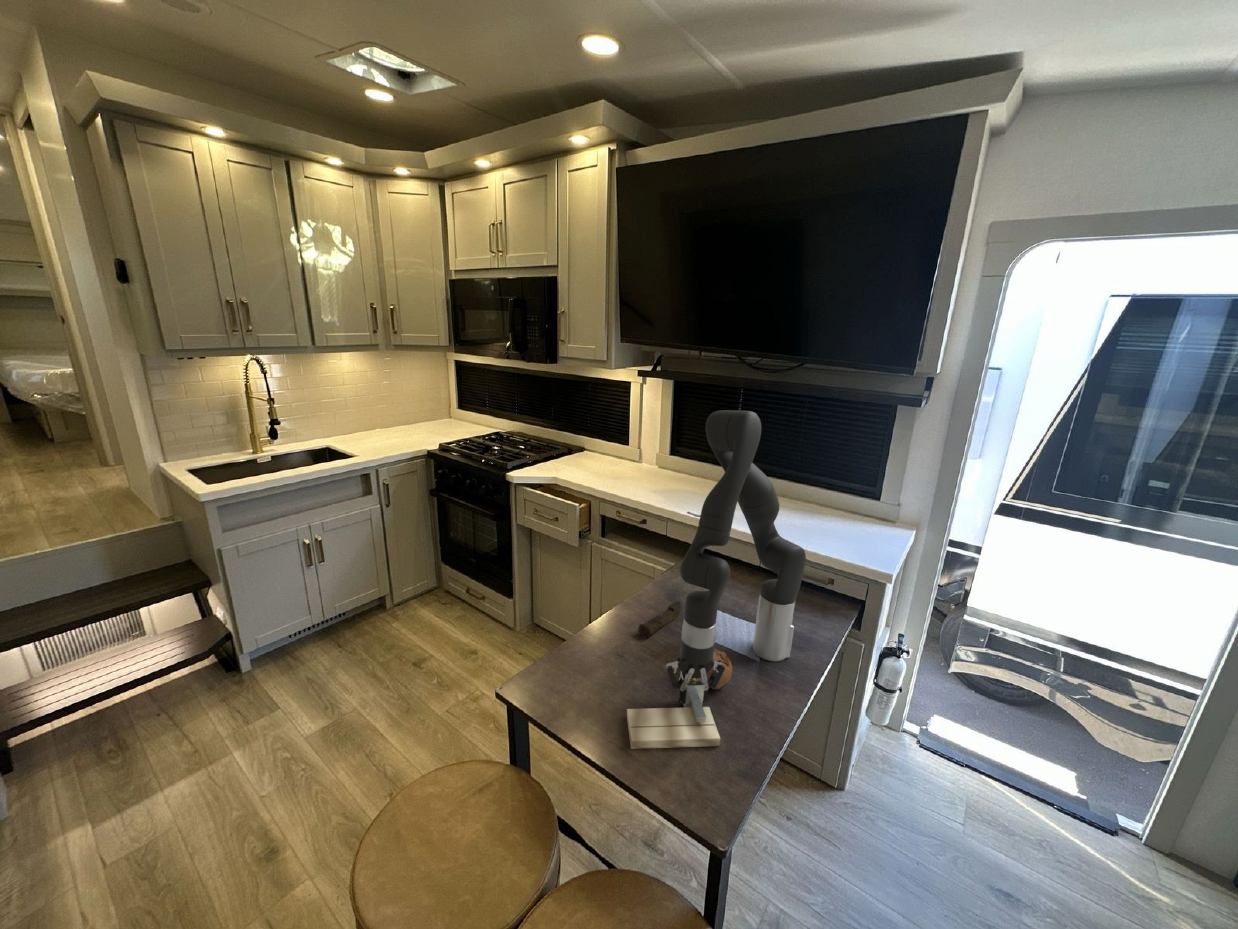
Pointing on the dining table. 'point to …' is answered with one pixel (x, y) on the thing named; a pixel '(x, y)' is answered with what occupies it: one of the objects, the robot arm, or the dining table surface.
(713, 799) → the dining table surface
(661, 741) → the board
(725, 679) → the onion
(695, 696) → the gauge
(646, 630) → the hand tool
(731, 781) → the dining table surface
